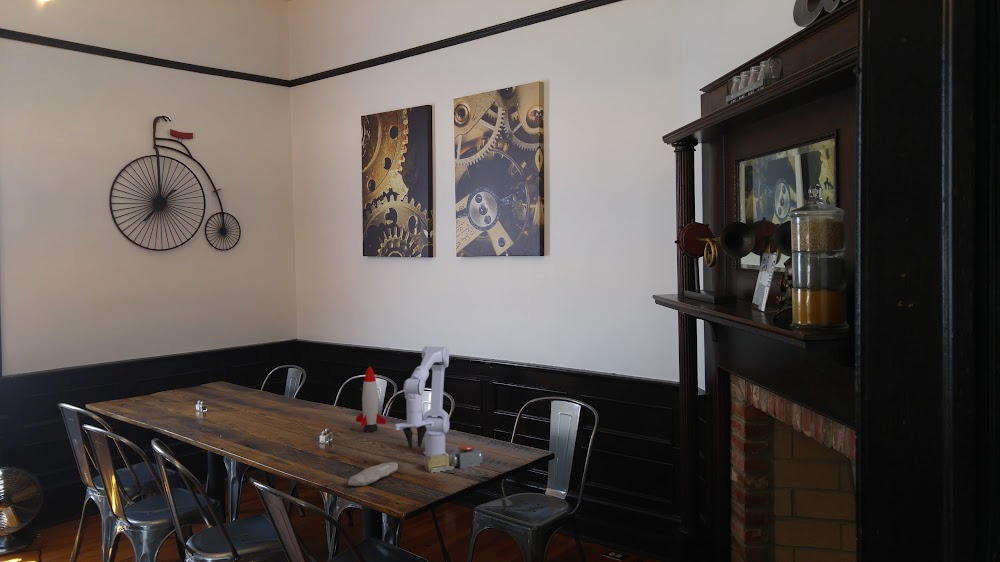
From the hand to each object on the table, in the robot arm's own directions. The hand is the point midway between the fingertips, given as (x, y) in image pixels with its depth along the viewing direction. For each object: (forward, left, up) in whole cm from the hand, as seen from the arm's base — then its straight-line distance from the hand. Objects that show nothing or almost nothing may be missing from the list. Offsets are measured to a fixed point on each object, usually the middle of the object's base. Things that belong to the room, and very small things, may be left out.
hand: (414, 447), depth 259 cm
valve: (0, +16, -9) cm, 18 cm away
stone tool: (+1, -15, -10) cm, 18 cm away
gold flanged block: (0, +9, -10) cm, 13 cm away
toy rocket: (-71, +1, -10) cm, 72 cm away
